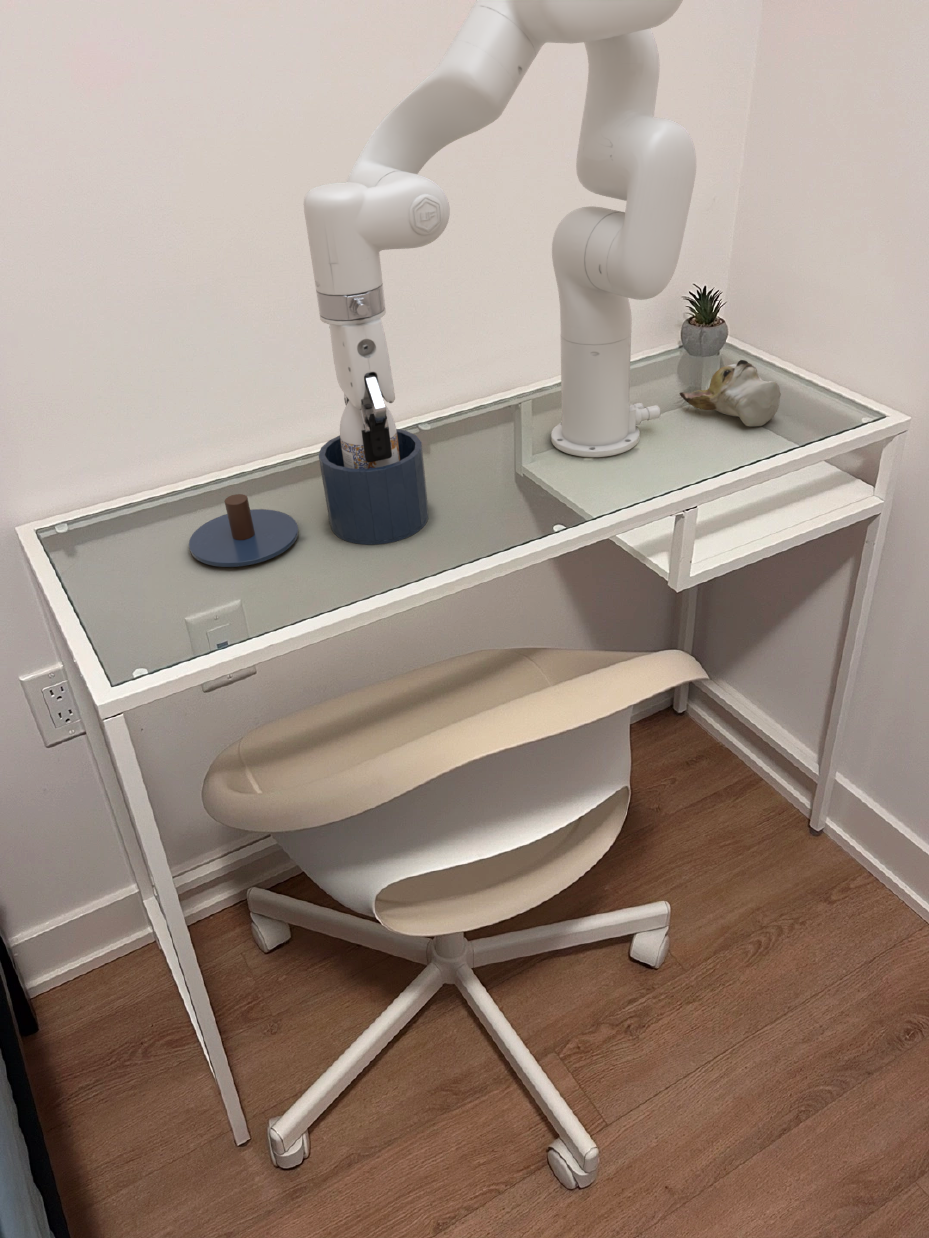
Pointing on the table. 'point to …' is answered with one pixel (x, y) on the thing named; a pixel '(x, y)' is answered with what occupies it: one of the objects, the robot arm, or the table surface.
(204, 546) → the tin lid
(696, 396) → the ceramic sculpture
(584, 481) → the table surface
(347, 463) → the bath foam
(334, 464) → the tin
